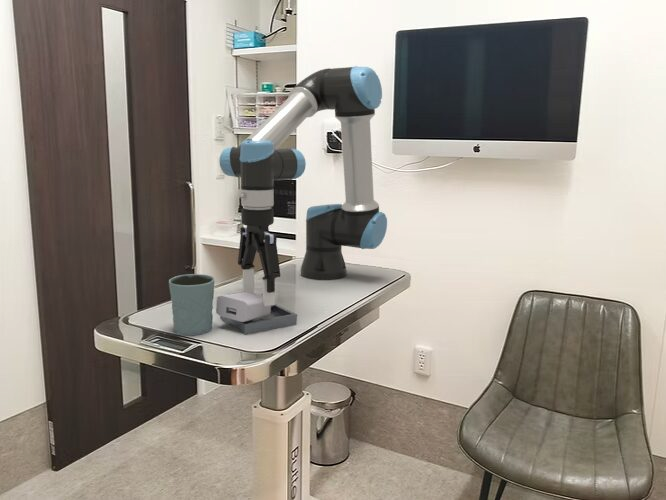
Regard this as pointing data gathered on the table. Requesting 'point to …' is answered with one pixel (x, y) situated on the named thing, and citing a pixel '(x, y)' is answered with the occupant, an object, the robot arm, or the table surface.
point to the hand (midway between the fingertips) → (258, 299)
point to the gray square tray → (265, 321)
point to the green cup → (192, 303)
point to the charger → (242, 306)
